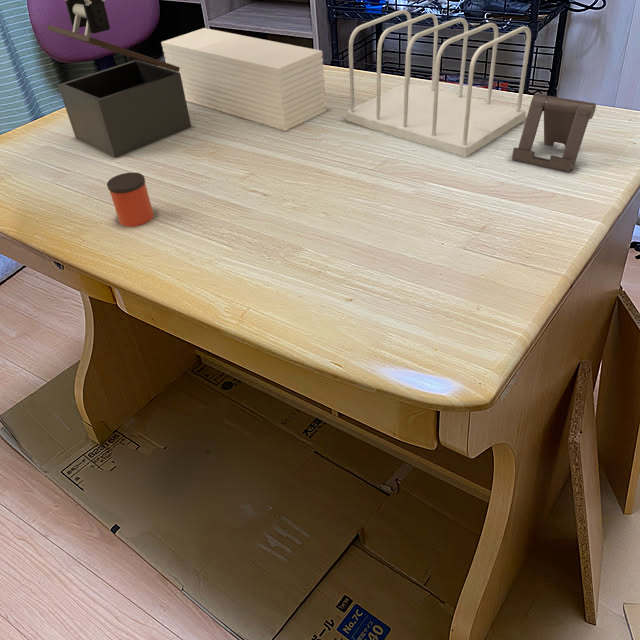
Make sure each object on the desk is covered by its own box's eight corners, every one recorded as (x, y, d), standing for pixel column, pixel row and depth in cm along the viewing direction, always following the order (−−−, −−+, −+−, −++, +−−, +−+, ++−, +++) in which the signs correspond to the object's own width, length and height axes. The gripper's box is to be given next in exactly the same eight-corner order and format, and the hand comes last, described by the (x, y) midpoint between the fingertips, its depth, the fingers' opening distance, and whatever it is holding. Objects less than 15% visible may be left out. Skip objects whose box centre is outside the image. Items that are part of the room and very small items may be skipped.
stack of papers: (173, 98, 126) (161, 41, 119) (213, 82, 132) (204, 27, 125) (285, 132, 108) (278, 68, 101) (326, 112, 114) (322, 50, 107)
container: (121, 232, 85) (108, 192, 82) (117, 215, 89) (105, 177, 85) (157, 223, 87) (146, 184, 83) (151, 207, 90) (141, 169, 87)
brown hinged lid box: (115, 159, 104) (98, 101, 98) (76, 140, 112) (57, 84, 106) (191, 128, 113) (180, 72, 106) (150, 112, 121) (136, 59, 114)
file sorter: (345, 122, 109) (340, 27, 100) (406, 92, 119) (408, 3, 109) (465, 158, 95) (474, 52, 85) (525, 121, 104) (539, 21, 94)
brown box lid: (88, 42, 93) (95, 5, 92) (47, 29, 101) (52, -5, 100) (179, 72, 106) (186, 40, 105) (135, 59, 114) (141, 29, 113)
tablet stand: (509, 162, 93) (517, 107, 88) (531, 142, 98) (539, 89, 92) (568, 175, 89) (579, 118, 83) (588, 154, 93) (599, 98, 88)
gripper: (4, -107, 91) (45, 26, 103) (58, -105, 82) (96, 42, 93) (52, -112, 95) (86, 17, 107) (109, -111, 86) (140, 31, 97)
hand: (91, 27), depth 100 cm, fingers closed on brown box lid, 5 cm apart
